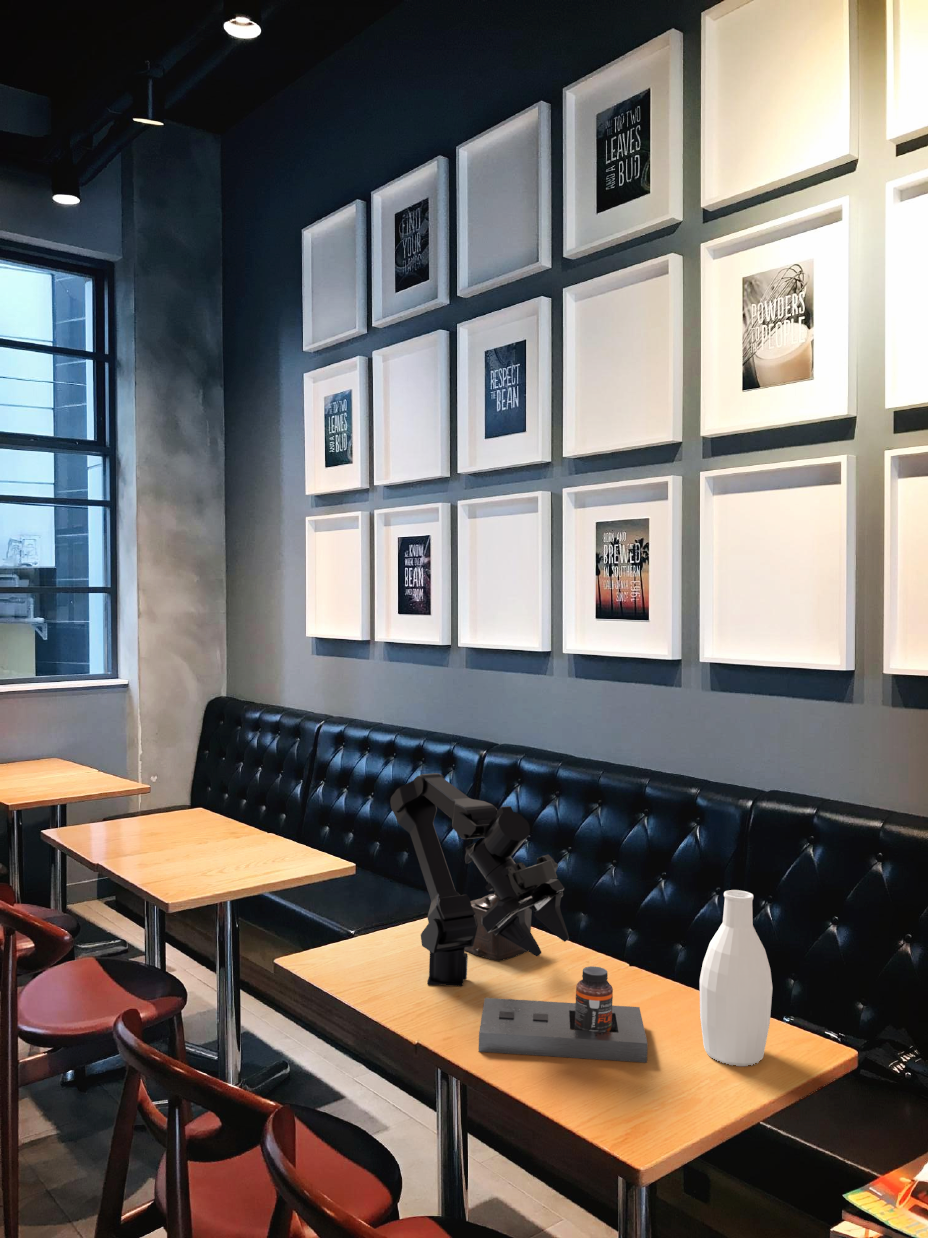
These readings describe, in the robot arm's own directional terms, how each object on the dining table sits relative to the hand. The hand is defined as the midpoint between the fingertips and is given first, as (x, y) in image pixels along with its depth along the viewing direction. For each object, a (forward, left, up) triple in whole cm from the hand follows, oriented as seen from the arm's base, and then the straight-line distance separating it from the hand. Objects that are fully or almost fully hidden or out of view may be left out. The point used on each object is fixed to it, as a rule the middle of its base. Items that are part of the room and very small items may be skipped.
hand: (553, 947), depth 166 cm
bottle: (+29, -6, -14) cm, 32 cm away
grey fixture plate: (+2, -4, -13) cm, 14 cm away
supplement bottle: (+7, -4, -14) cm, 16 cm away
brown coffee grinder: (-9, +34, -14) cm, 38 cm away
